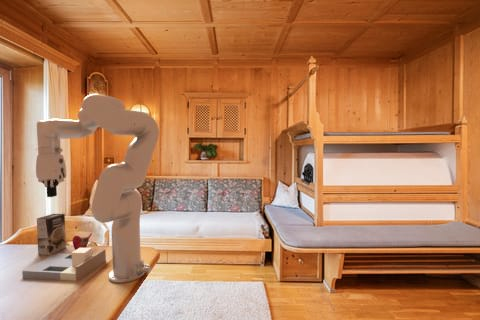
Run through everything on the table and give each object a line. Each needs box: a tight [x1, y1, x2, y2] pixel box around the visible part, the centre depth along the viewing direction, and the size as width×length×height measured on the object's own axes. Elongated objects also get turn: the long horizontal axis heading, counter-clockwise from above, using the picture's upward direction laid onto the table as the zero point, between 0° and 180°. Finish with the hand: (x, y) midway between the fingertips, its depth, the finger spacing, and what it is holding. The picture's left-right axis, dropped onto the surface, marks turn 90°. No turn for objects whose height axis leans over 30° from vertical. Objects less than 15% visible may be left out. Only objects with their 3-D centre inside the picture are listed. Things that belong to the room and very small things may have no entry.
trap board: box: [22, 249, 107, 281], centre depth 106 cm, size 22×16×5 cm
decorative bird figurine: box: [72, 232, 93, 251], centre depth 121 cm, size 3×18×10 cm, turn 5°
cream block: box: [70, 247, 93, 266], centre depth 106 cm, size 5×5×5 cm
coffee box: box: [36, 213, 67, 256], centre depth 124 cm, size 9×6×16 cm
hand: (52, 196), depth 112 cm, fingers closed
